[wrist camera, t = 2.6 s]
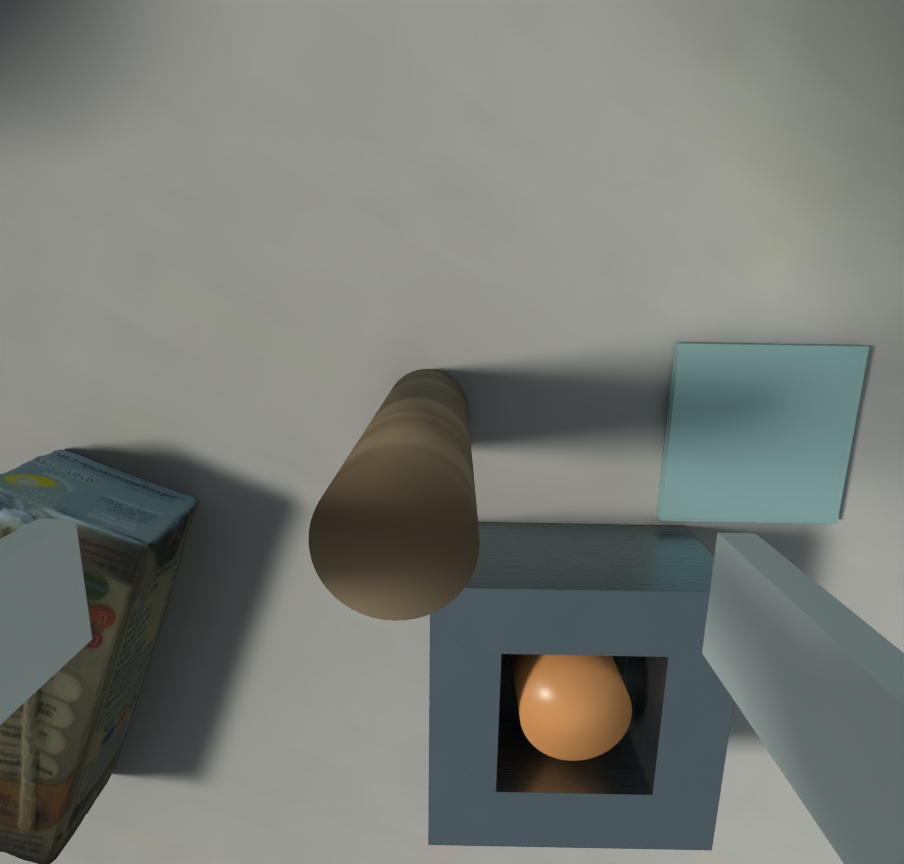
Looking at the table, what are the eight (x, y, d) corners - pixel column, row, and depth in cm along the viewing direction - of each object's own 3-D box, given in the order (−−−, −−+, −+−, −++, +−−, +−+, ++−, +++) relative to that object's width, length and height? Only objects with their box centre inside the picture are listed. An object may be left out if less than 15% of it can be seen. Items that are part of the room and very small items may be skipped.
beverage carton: (211, 497, 31) (147, 552, 24) (119, 777, 35) (44, 887, 29) (62, 441, 30) (-45, 482, 24) (-13, 733, 34) (-121, 836, 28)
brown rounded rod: (386, 368, 29) (304, 460, 13) (468, 369, 29) (482, 462, 13) (387, 446, 30) (311, 618, 14) (466, 448, 30) (477, 621, 14)
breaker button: (511, 603, 30) (522, 663, 26) (607, 605, 30) (636, 665, 26) (507, 687, 32) (517, 759, 27) (600, 689, 32) (626, 761, 27)
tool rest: (674, 342, 28) (679, 343, 28) (861, 345, 28) (869, 346, 28) (656, 516, 30) (660, 521, 30) (829, 519, 30) (837, 523, 30)
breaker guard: (436, 521, 31) (430, 587, 24) (684, 526, 31) (750, 593, 24) (434, 733, 34) (428, 844, 27) (659, 737, 34) (711, 850, 27)
